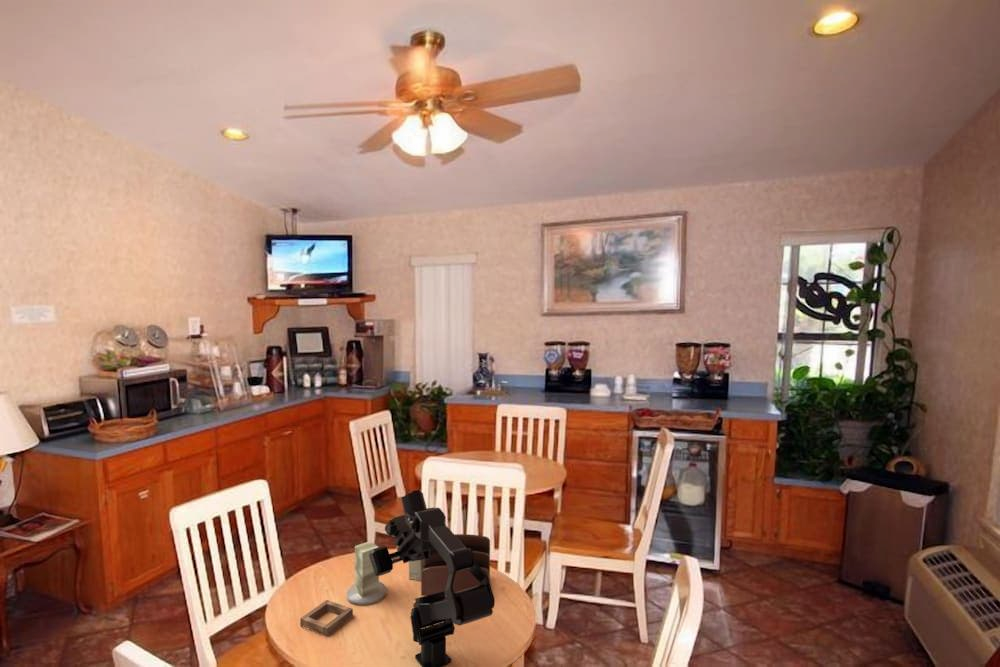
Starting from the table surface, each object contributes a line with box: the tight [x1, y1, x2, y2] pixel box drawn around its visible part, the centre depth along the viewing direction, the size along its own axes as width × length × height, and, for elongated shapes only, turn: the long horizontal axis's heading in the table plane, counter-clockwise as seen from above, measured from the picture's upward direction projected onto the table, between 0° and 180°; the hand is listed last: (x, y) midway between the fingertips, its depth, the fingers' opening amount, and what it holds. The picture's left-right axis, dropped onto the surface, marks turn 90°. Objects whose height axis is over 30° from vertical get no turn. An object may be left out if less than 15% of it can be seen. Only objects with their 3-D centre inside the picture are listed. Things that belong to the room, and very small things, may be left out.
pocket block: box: [299, 599, 354, 637], centre depth 129 cm, size 9×9×2 cm
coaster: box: [346, 581, 387, 606], centre depth 141 cm, size 11×11×1 cm
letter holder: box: [420, 533, 491, 596], centre depth 146 cm, size 10×20×14 cm, turn 91°
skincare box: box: [408, 559, 424, 581], centre depth 152 cm, size 6×4×12 cm
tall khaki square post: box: [354, 540, 380, 598], centre depth 141 cm, size 5×5×13 cm
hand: (395, 565), depth 131 cm, fingers open, 9 cm apart
